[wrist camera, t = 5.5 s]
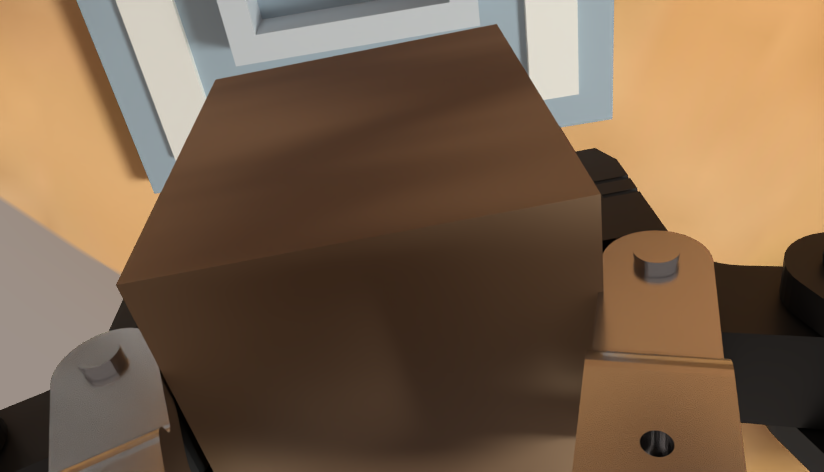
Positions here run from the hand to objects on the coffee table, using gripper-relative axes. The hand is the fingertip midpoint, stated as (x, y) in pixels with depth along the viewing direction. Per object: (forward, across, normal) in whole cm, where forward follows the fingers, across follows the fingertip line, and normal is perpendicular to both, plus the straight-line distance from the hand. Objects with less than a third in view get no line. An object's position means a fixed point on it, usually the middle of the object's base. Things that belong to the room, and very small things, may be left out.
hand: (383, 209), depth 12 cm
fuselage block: (+1, 0, 0) cm, 1 cm away
